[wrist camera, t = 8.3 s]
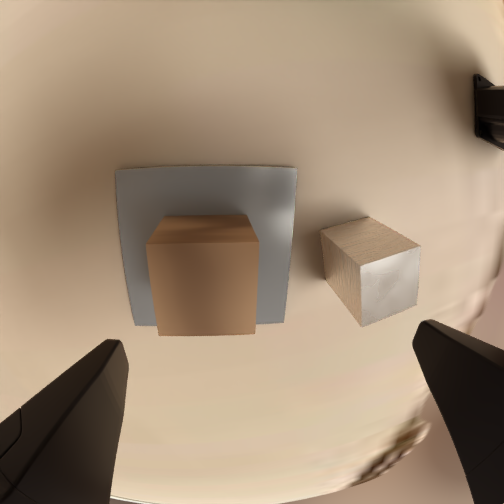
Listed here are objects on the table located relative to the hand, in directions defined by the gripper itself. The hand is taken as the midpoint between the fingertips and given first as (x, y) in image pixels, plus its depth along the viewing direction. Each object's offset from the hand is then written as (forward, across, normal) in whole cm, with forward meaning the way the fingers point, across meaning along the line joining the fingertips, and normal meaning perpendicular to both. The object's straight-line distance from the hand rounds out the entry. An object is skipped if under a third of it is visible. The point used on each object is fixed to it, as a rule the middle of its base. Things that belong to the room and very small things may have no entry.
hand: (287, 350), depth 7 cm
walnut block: (+11, +3, +2) cm, 11 cm away
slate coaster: (+12, +3, +2) cm, 12 cm away
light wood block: (+12, -7, +2) cm, 14 cm away
